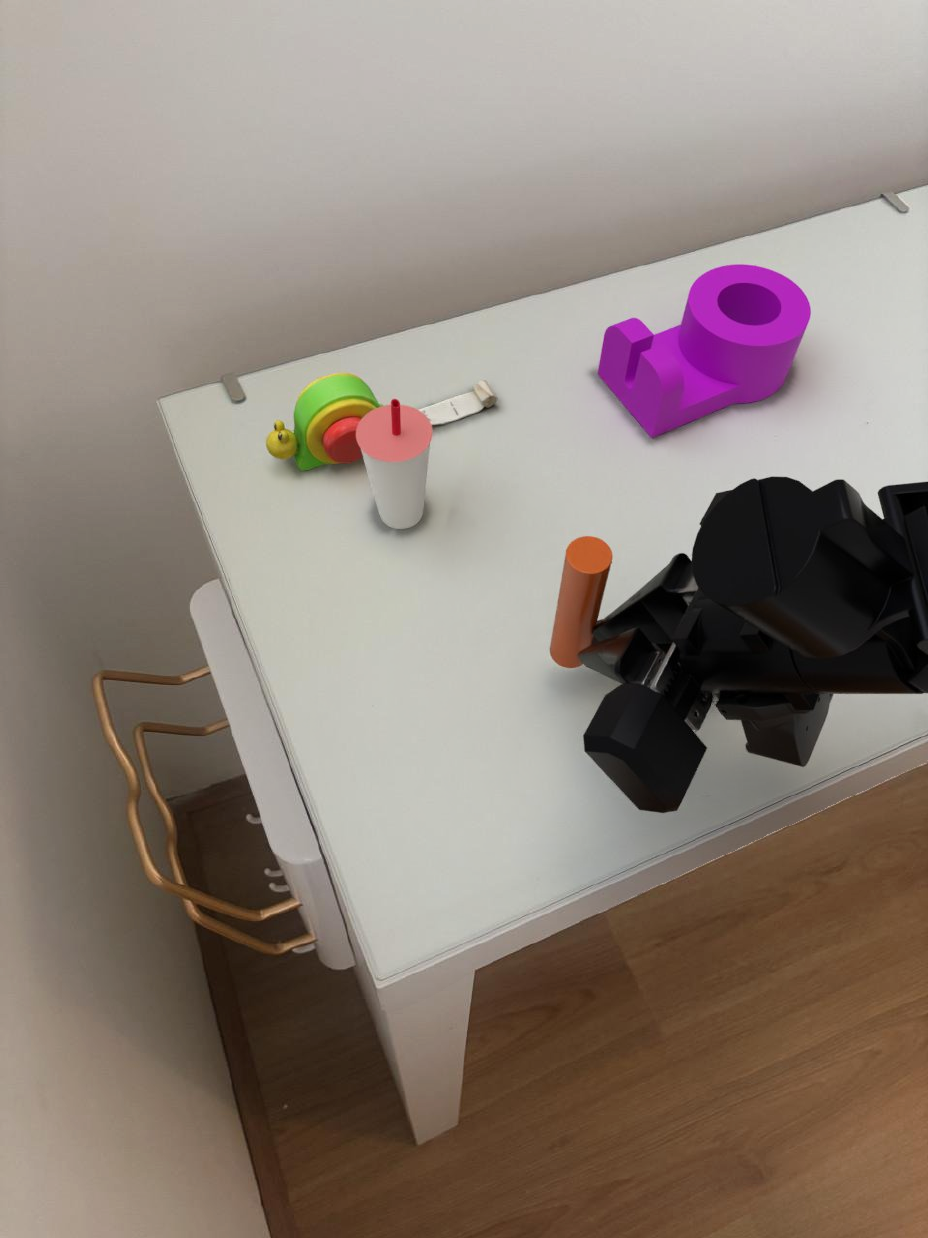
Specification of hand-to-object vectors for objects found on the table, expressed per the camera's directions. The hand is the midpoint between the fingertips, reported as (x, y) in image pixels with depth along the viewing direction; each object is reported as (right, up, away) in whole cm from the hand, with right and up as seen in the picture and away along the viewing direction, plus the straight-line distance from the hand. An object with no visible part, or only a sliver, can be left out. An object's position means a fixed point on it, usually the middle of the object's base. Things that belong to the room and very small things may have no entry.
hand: (588, 647), depth 56 cm
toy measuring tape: (-14, +17, +20) cm, 30 cm away
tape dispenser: (+13, +23, +23) cm, 35 cm away
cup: (-13, +10, +15) cm, 22 cm away
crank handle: (+4, +1, +5) cm, 7 cm away
